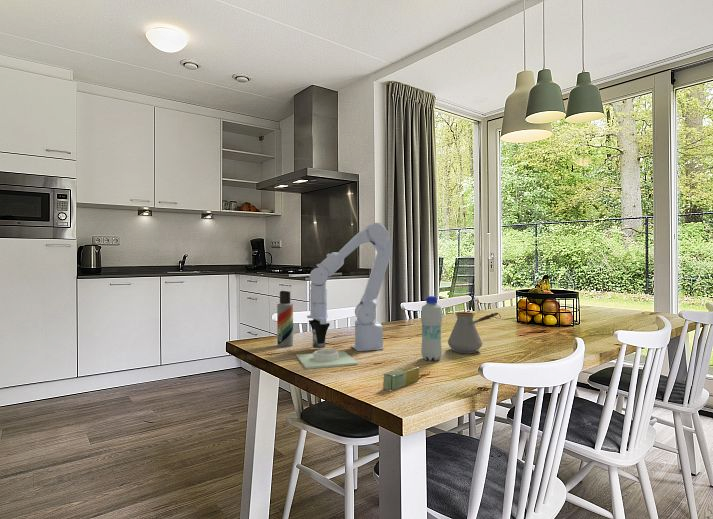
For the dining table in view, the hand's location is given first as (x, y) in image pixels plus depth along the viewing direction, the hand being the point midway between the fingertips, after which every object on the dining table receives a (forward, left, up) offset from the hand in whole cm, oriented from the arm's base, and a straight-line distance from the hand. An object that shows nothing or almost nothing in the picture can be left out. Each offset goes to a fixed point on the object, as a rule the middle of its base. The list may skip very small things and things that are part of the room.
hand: (319, 341), depth 151 cm
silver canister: (0, 0, -2) cm, 2 cm away
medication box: (-11, +45, -3) cm, 47 cm away
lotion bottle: (+10, -11, -3) cm, 15 cm away
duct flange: (+1, +15, -3) cm, 15 cm away
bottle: (-31, +24, -3) cm, 39 cm away
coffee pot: (-48, +22, -3) cm, 53 cm away
